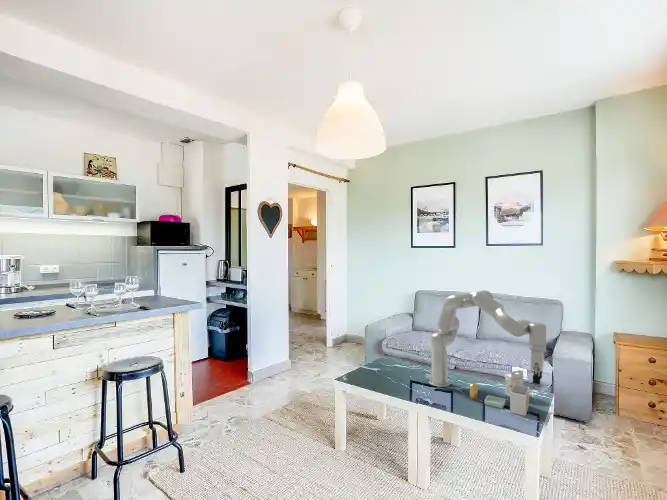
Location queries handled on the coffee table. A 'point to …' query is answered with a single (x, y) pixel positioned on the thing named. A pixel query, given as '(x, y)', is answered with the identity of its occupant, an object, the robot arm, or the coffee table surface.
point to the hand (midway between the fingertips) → (537, 380)
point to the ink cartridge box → (513, 381)
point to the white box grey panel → (519, 399)
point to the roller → (473, 391)
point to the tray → (494, 401)
